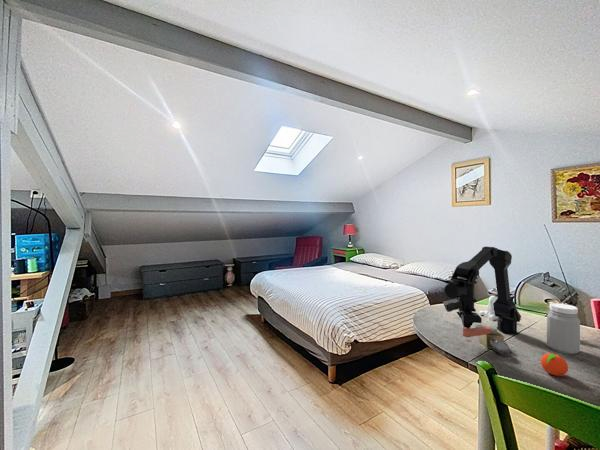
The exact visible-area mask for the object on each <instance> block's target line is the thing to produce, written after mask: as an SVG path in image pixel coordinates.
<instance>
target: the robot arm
mask: <svg viewBox="0 0 600 450" xmlns="http://www.w3.org/2000/svg"><path fill="white" fill-rule="evenodd" d="M512 256H513V255H512V254H511V252H509V251H508V250H503V249H499V248H497V247H495V246H483V247H482V248H481V250H480V251H479V252H478V253H476V254H475V255H474V256H473V257H472V258H470V260H467V261H463V262H461V263H459V264H457V266H456V267H455V269H454V272H453V274H452V276H451V279H450V280H449V281H448V284H446V285H445V287H443V288H444V294H445V295H446V297H448V298H450V299H449V300H445V301H442V303H443V306H444V308H445V310H446V312H447V313H450V312H452V311H456V310H458V311H456V314H457V315H458V316H459V319H461V323H462V328H463V327H467V328H472V325H473V324H482V316H481V315H479V313H477V310H476V308H475V303H476V301H477V300H476V298H475V285H476V284H477V283H478V282H477V281H476V279H477V278H478V277H479V275H480V269H481V268H482V267H484V266H485V265H486V264H487V263H488V262H489V264H490V266H491V267H492V269H494V276H495V277H494V278H495V286H496V294H497V296H496V297H497V298H498V299H497V300H496V301H495V302H494V303H493V305H494V312H495V316H496V317H499V318H498V319H497V325H496V330H498V331H500V332H501V333H502V334H510V335H519V334H520V332H518V329H517V328H518V323H521V322H520V321H521V319H522V315H521V314H520V312H519V310H518V309H517V305H516V303H515V301H514V300H513V299H512V298H511V291H510V290H511V289H510V279H509V271H508V268H509V267H510V265H511V263H512V259H513V258H512Z"/></svg>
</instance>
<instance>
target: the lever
mask: <svg viewBox="0 0 600 450" xmlns="http://www.w3.org/2000/svg"><path fill="white" fill-rule="evenodd" d="M483 326H484V325H483ZM497 332H498V329H497V328H494V327H489V326H486V325H485V326H484V327H477V328H475V327H470V328H467V327H463V326H462V336H463V337H465V338H472V337H479V335H485V334H497Z"/></svg>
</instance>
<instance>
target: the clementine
mask: <svg viewBox="0 0 600 450" xmlns="http://www.w3.org/2000/svg"><path fill="white" fill-rule="evenodd" d="M540 364H541V366H542V368H543V369H544V371H545V372H547V373H548V374H550V375H553V376H556V377H561V376H564V375H566V374H567V373H568V371H569V366H568V363H567V361H566V360H565V359H564V358H563V357H562V356H560V355H558V354H557V353H550V352H549V353H545V354H544V355H542V356H541V358H540Z"/></svg>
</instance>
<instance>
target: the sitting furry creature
mask: <svg viewBox="0 0 600 450" xmlns="http://www.w3.org/2000/svg"><path fill="white" fill-rule="evenodd" d="M497 299H498V296H496V295H490V296H489V298H488V304H487V305H486V310H481V311H478V315H479V314H480V315H479V316H481V315H486V318H488V319H489V321H491V320H493V321H495V320H499V317H496V316H495V312H494V305H493V303H494V302H495V301H496V300H497Z"/></svg>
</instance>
